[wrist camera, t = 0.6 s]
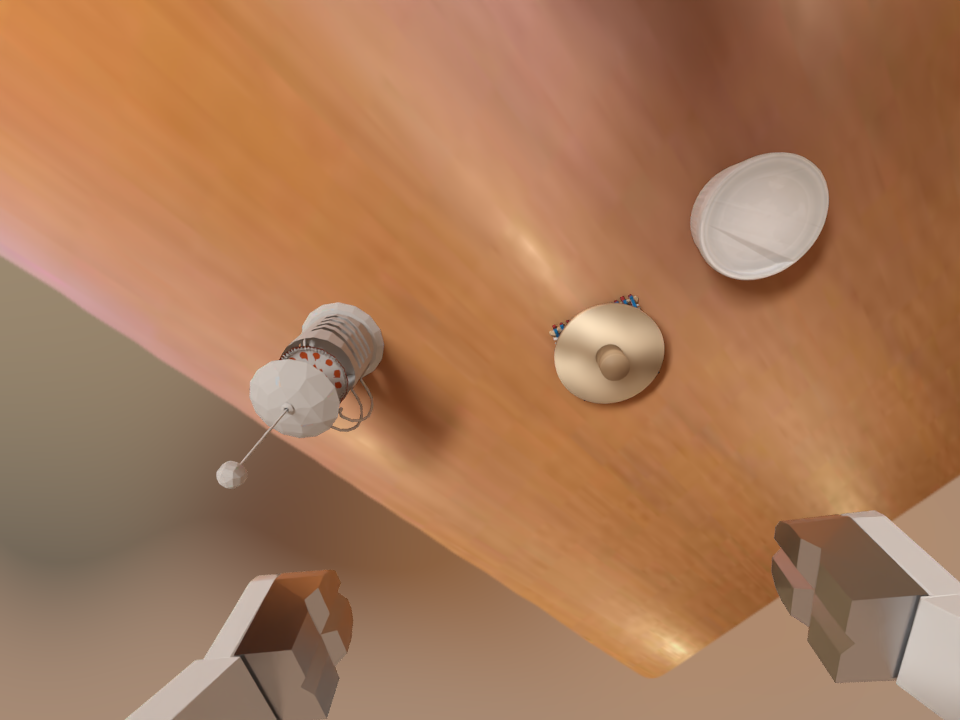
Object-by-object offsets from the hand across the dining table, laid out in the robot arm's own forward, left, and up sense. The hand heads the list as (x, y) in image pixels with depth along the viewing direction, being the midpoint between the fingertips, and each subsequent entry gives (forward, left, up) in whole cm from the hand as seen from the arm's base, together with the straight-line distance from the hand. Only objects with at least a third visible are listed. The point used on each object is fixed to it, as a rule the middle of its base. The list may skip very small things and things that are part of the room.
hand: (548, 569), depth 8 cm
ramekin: (-4, +23, -43) cm, 48 cm away
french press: (+15, -17, -43) cm, 48 cm away
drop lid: (+12, +13, -41) cm, 45 cm away
